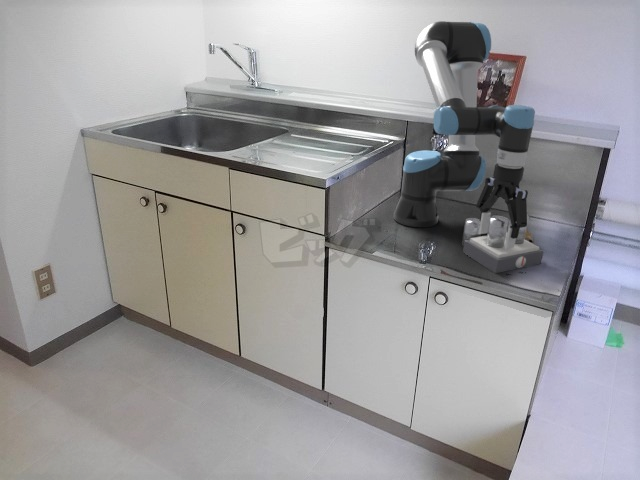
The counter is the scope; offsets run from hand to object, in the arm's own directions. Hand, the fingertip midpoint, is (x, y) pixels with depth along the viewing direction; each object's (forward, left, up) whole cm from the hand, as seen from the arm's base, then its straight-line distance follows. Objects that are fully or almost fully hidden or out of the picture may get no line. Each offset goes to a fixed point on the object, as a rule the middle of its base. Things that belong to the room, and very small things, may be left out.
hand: (495, 240), depth 148 cm
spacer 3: (0, +8, -1) cm, 8 cm away
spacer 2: (0, 0, -1) cm, 1 cm away
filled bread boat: (-9, +19, -7) cm, 22 cm away
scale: (0, +4, -6) cm, 7 cm away
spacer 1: (-11, +1, -6) cm, 13 cm away
